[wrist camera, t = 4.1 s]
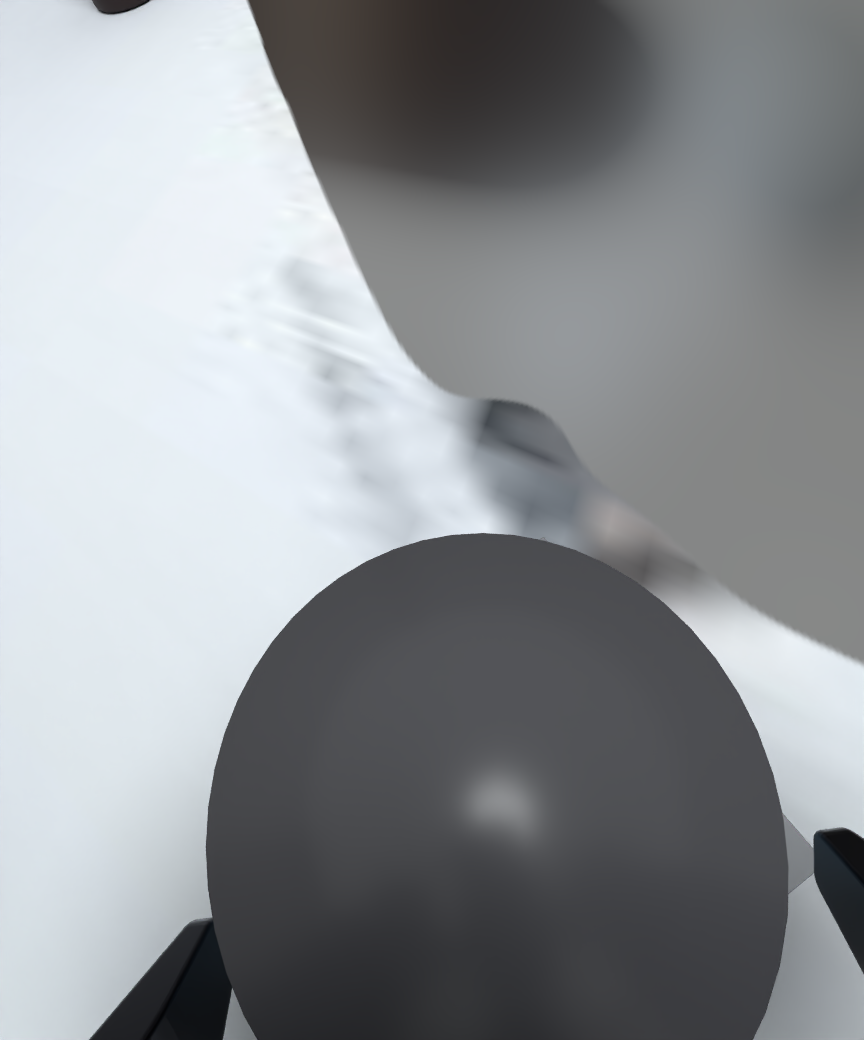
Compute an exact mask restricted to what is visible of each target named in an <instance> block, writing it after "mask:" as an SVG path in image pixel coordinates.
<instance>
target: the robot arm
mask: <svg viewBox="0 0 864 1040" xmlns="http://www.w3.org/2000/svg"><path fill="white" fill-rule="evenodd" d="M814 875H815V879H816V883H817V885H818V888H819V890H820V892H821V894H822V896H823V898H824V900H825V902H826V904H827V905H828V907H829V909H830V911H831V913H832V915H833V917H834V919H835V921H836V922H837V924H838V926H839V928H840V930H841V932H842V934H843V936H844V938H845V939H846V941H847V943H848V945H849V947H850V949H851V951H852V953H853V955H854V957H855V958H856V960H857V962H858V964H859V966H860V968H861V970H862V972H863V974H864V838H862V837H861V836H859V835H858V834H856V833H855V832H853V831H851V830H849V829H846V828H832V829H825V830H819V831H817V832H816V833H815V835H814ZM231 991H232V985H231V983H230V980H229V978H228V976H227V973H226V969H225V966H224V962H223V959H222V955H221V951H220V948H219V944H218V941H217V937H216V933H215V929H214V923H213V918H205V919H198V920H194V921H192V922H190V923H189V924H188V925H187V926H186V927H185V928H184V929H183V930H182V931H181V932H180V933H179V935H178V936H177V937H176V938H175V939H174V941H173V942H172V943H171V944H170V945H169V946H168V948H167V949H166V950H165V951H164V952H163V953H162V955H161V956H160V957H159V958H158V959H157V961H156V962H155V963H154V964H153V965H152V966H151V968H150V969H149V970H148V971H147V972H146V973H145V975H144V976H143V977H142V978H141V979H140V981H139V982H138V983H137V984H136V985H135V986H134V988H133V989H132V990H131V991H130V992H129V993H128V995H127V996H126V997H125V998H124V999H123V1001H122V1002H121V1003H120V1004H119V1005H118V1006H117V1008H116V1009H115V1010H114V1011H113V1012H112V1013H111V1015H110V1016H109V1017H108V1018H107V1019H106V1021H105V1022H104V1023H103V1024H102V1025H101V1026H100V1028H99V1029H98V1030H97V1031H96V1032H95V1033H94V1035H93V1036H92V1037H91V1038H90V1039H89V1040H223V1036H224V1030H225V1025H226V1019H227V1014H228V1008H229V1003H230V997H231Z"/></svg>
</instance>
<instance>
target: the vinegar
mask: <svg viewBox="0 0 864 1040" xmlns="http://www.w3.org/2000/svg"><path fill="white" fill-rule="evenodd" d="M92 1H93V3H94V5H95V6H96V7H97V8H98V9H99V10H101V11H103V12H106V13H116V12H121V11H125V10H128V9H131V8H134V7H136V6H138V5H141V4H143V3H145V2H146V1H148V0H92Z"/></svg>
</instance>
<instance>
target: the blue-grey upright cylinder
mask: <svg viewBox="0 0 864 1040" xmlns="http://www.w3.org/2000/svg"><path fill="white" fill-rule="evenodd" d="M206 858H207V878H208V892H209V898H210V904H211V910H212V917H213V923H214V929H215V933H216V937H217V941H218V944H219V948H220V951H221V955H222V959H223V962H224V966H225V969H226V973H227V976H228V978H229V980H230V983H231V985H232V988H233V990H234V993H235V995H236V997H237V1000H238V1002H239V1005H240V1007H241V1010H242V1012H243V1015H244V1017H245V1018H246V1020H247V1022H248V1024H249V1025H250V1027H251V1029H252V1031H253V1033H254V1034H255V1036H256V1038H257V1040H753V1038H754V1036H755V1034H756V1032H757V1030H758V1027H759V1025H760V1023H761V1021H762V1019H763V1017H764V1015H765V1013H766V1009H767V1006H768V1003H769V999H770V996H771V993H772V989H773V986H774V983H775V980H776V976H777V973H778V970H779V966H780V961H781V955H782V948H783V942H784V936H785V929H786V923H787V916H788V872H789V866H788V856H787V847H786V837H785V828H784V819H783V815H782V810H781V806H780V802H779V797H778V793H777V789H776V784H775V780H774V776H773V772H772V770H771V767H770V764H769V761H768V759H767V756H766V753H765V750H764V747H763V745H762V742H761V739H760V736H759V734H758V731H757V729H756V727H755V725H754V723H753V721H752V719H751V717H750V715H749V713H748V711H747V709H746V707H745V705H744V703H743V701H742V699H741V697H740V695H739V693H738V692H737V690H736V689H735V687H734V686H733V684H732V683H731V681H730V680H729V678H728V676H727V675H726V673H725V672H724V670H723V669H722V667H721V666H720V664H719V663H718V661H717V660H716V658H715V657H714V656H713V655H712V653H711V652H710V651H709V650H708V649H707V647H706V646H705V645H704V644H703V643H702V641H701V640H700V639H699V638H698V637H697V635H696V634H695V633H694V632H693V631H692V629H691V628H690V627H689V626H688V625H686V624H685V623H684V622H683V621H682V620H681V619H680V618H679V617H678V616H677V615H676V614H675V613H674V612H673V611H672V610H671V609H670V608H669V607H668V606H667V605H666V604H665V603H663V602H662V601H661V600H659V599H658V598H657V597H655V596H654V595H653V594H652V593H650V592H649V591H648V590H646V589H645V588H644V587H642V586H641V585H640V584H638V583H637V582H636V581H634V580H632V579H631V578H629V577H627V576H626V575H624V574H622V573H621V572H619V571H617V570H615V569H614V568H612V567H610V566H609V565H607V564H605V563H603V562H601V561H598V560H596V559H594V558H592V557H589V556H587V555H585V554H583V553H580V552H578V551H576V550H573V549H570V548H566V547H563V546H560V545H557V544H553V543H550V542H547V541H543V540H538V539H532V538H527V537H521V536H516V535H504V534H487V533H478V534H461V535H450V536H444V537H439V538H433V539H428V540H422V541H419V542H416V543H413V544H409V545H406V546H403V547H400V548H396V549H393V550H391V551H389V552H387V553H384V554H382V555H380V556H378V557H375V558H373V559H371V560H369V561H366V562H365V563H363V564H361V565H360V566H358V567H356V568H355V569H353V570H351V571H350V572H348V573H346V574H344V575H343V576H341V577H340V578H338V579H337V580H336V581H334V582H333V583H332V584H330V585H329V586H328V587H326V588H325V589H324V590H322V591H321V592H320V593H318V594H317V595H316V596H315V597H314V598H313V599H312V600H311V601H310V602H308V603H307V604H306V605H305V606H304V607H303V608H302V609H301V610H300V611H299V612H298V613H297V614H296V615H295V616H294V617H293V618H292V619H291V620H290V621H289V623H288V624H287V625H286V626H285V627H284V629H283V630H282V631H281V632H280V633H279V635H278V636H277V637H276V638H275V639H274V640H273V642H272V643H271V645H270V646H269V648H268V649H267V651H266V652H265V654H264V655H263V656H262V658H261V659H260V661H259V662H258V664H257V665H256V667H255V668H254V670H253V672H252V674H251V676H250V678H249V680H248V681H247V683H246V685H245V687H244V689H243V691H242V693H241V695H240V697H239V699H238V701H237V703H236V706H235V708H234V711H233V713H232V716H231V718H230V721H229V723H228V726H227V729H226V731H225V734H224V737H223V741H222V744H221V748H220V752H219V755H218V759H217V762H216V766H215V770H214V776H213V782H212V788H211V794H210V800H209V806H208V821H207V838H206Z"/></svg>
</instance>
